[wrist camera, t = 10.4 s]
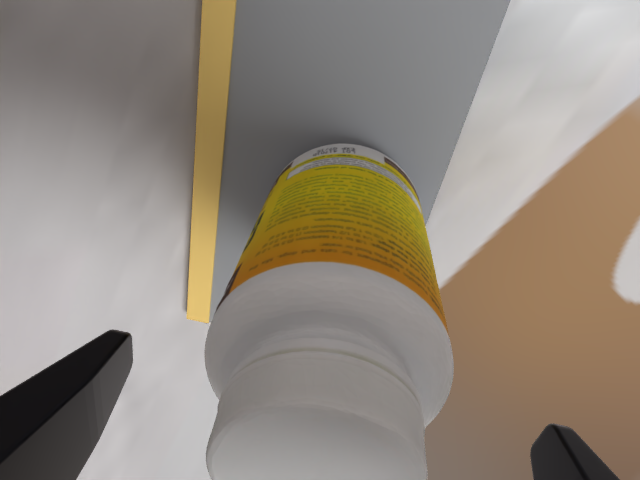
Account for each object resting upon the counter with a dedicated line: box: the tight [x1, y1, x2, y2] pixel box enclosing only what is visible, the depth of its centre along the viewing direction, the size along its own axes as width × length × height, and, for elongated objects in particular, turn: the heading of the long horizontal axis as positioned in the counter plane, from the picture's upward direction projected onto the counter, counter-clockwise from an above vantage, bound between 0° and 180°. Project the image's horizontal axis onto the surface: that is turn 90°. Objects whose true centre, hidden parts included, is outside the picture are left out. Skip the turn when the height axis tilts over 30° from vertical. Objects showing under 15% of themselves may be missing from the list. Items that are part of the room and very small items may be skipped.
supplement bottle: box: [205, 144, 454, 480], centre depth 12 cm, size 6×6×10 cm
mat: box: [187, 0, 510, 323], centre depth 16 cm, size 9×15×1 cm, turn 169°
